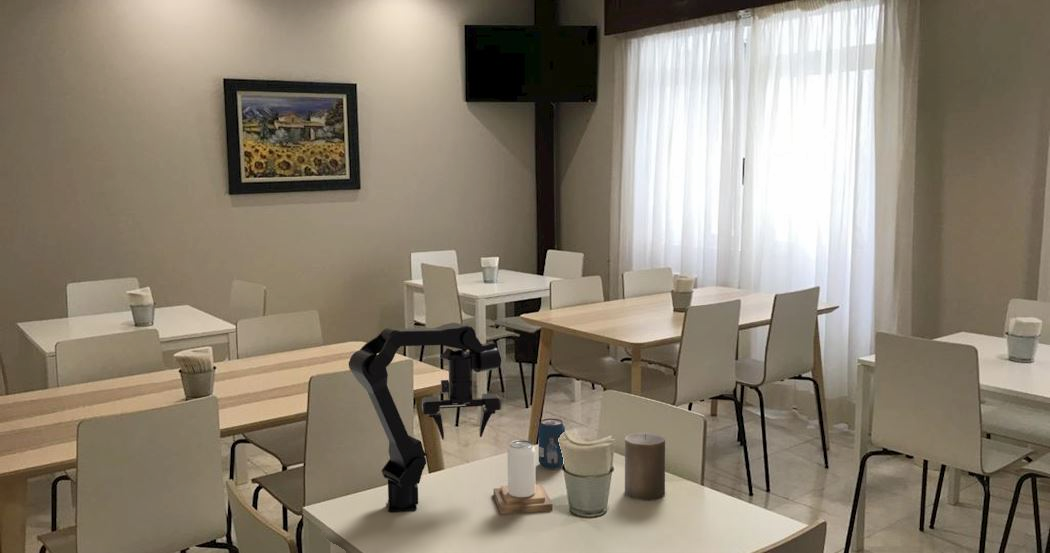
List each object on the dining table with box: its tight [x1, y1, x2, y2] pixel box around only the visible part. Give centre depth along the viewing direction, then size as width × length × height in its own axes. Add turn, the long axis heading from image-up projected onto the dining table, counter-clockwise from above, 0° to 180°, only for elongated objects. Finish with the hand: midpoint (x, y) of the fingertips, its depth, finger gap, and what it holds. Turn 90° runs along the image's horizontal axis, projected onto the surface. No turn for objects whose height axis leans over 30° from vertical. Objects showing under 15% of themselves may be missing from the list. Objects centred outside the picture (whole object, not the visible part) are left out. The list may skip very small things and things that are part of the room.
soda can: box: [538, 418, 566, 470], centre depth 226 cm, size 7×7×12 cm
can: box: [507, 439, 536, 498], centre depth 200 cm, size 6×6×12 cm
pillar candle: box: [624, 432, 666, 501], centre depth 207 cm, size 10×10×15 cm
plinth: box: [493, 483, 554, 515], centre depth 202 cm, size 12×12×2 cm
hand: (461, 437), depth 209 cm, fingers open, 9 cm apart
